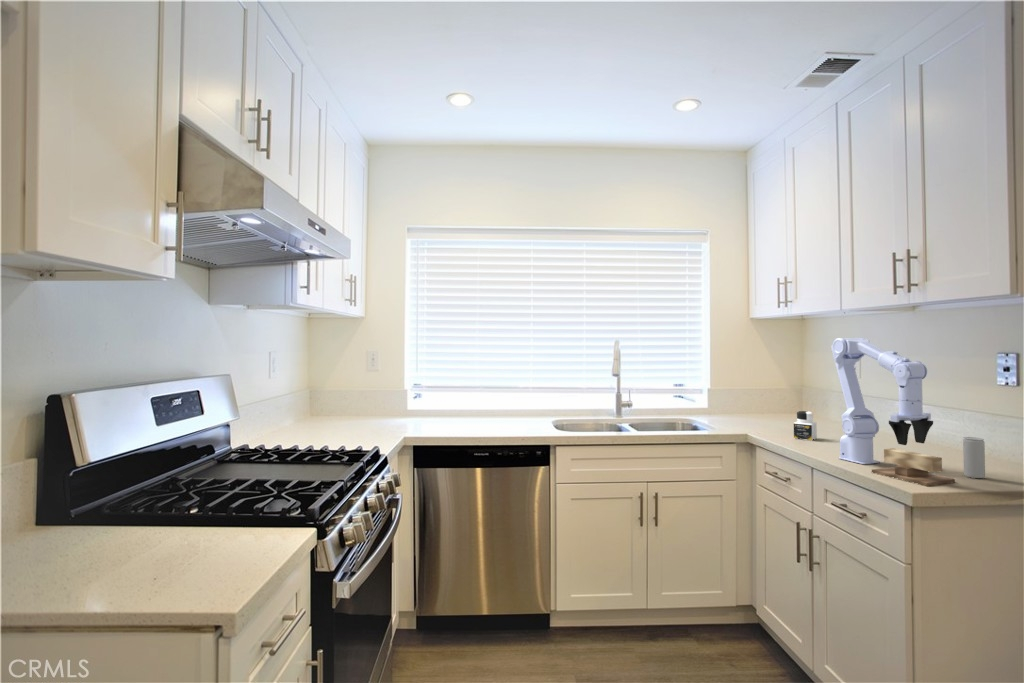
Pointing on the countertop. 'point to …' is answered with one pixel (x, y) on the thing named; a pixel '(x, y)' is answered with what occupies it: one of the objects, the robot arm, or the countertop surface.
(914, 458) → the beam
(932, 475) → the fulcrum
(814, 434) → the medicine bottle
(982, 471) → the beverage can
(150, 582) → the countertop surface
